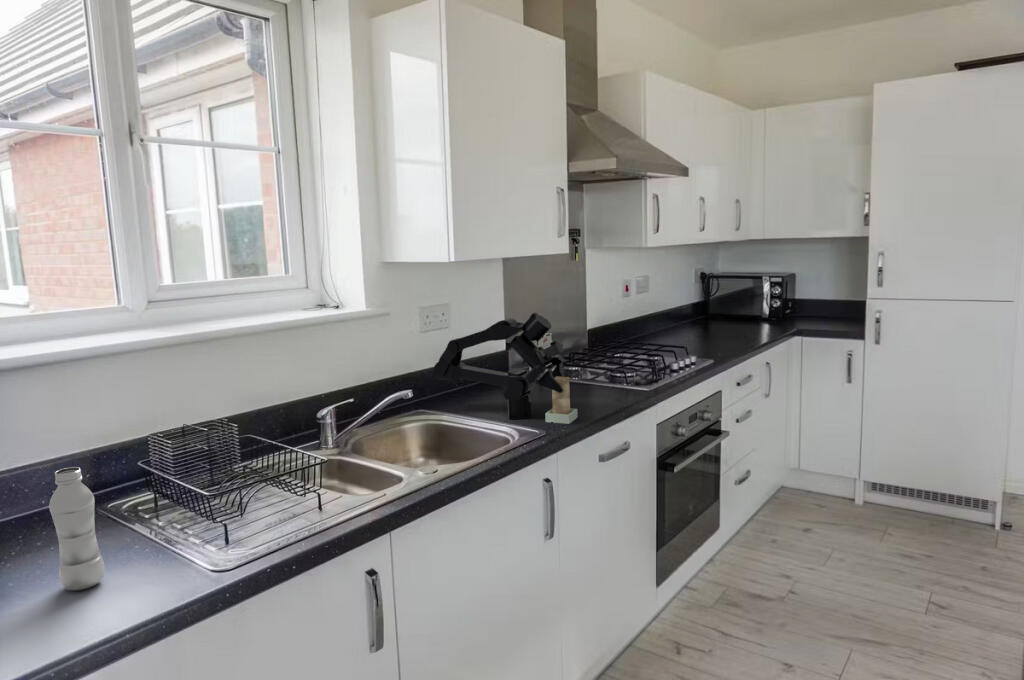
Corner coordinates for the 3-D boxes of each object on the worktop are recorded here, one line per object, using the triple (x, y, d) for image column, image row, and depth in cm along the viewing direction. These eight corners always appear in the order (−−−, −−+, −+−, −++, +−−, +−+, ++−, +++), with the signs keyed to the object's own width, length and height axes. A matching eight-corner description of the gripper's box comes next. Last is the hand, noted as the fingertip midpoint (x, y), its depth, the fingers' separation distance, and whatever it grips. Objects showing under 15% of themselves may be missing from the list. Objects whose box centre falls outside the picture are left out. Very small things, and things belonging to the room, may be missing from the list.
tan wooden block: (553, 418, 206) (551, 379, 204) (557, 415, 210) (556, 376, 208) (565, 419, 204) (564, 379, 203) (570, 416, 208) (569, 377, 206)
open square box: (545, 422, 205) (545, 413, 205) (554, 415, 212) (554, 407, 212) (569, 423, 202) (569, 415, 202) (577, 417, 209) (577, 408, 209)
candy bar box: (543, 373, 278) (541, 332, 275) (554, 374, 275) (552, 333, 272) (528, 378, 268) (526, 336, 266) (539, 379, 266) (538, 337, 263)
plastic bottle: (68, 600, 112) (51, 480, 109) (55, 587, 116) (38, 472, 114) (112, 584, 117) (96, 469, 114) (98, 572, 121) (82, 461, 118)
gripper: (534, 337, 197) (572, 378, 194) (557, 328, 213) (592, 365, 211) (509, 364, 201) (547, 404, 198) (534, 353, 218) (568, 389, 215)
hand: (565, 389), depth 205 cm, fingers open, 5 cm apart
